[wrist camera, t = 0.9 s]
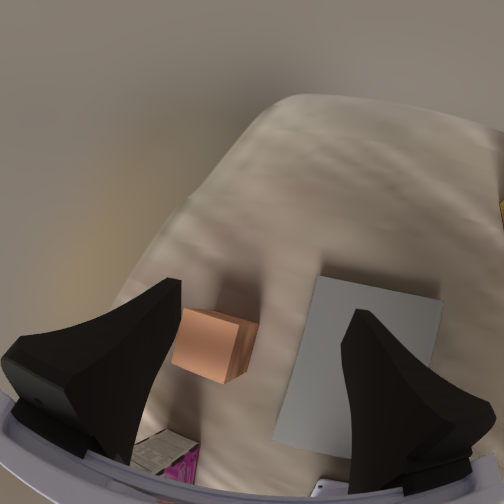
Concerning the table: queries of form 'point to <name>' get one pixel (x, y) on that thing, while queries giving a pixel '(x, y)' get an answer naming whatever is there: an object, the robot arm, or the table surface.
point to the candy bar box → (167, 457)
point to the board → (329, 360)
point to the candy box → (502, 210)
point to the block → (214, 344)
